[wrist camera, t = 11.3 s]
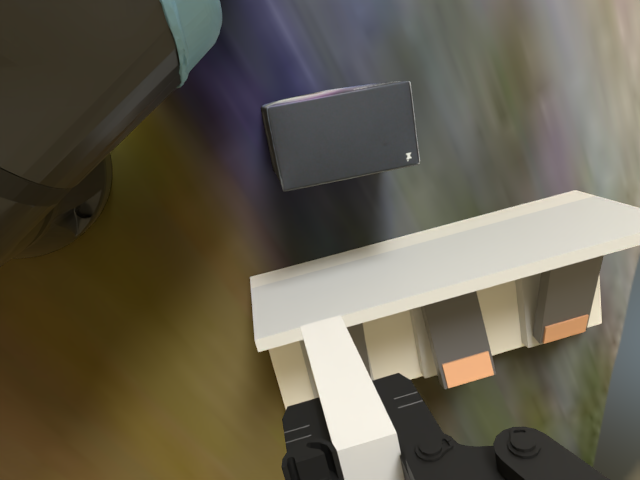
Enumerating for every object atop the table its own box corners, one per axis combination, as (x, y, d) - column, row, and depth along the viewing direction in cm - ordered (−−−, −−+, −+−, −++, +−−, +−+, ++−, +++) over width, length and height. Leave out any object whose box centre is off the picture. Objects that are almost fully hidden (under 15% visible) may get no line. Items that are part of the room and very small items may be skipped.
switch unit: (284, 398, 52) (299, 492, 39) (249, 277, 48) (254, 340, 35) (582, 311, 55) (683, 373, 42) (575, 190, 51) (684, 220, 38)
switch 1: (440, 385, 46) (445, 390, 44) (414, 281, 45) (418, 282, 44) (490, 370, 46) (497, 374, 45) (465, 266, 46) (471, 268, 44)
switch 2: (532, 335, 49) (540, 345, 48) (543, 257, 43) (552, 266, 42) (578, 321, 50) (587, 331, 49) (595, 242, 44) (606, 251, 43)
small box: (374, 80, 44) (414, 75, 34) (384, 152, 46) (424, 167, 36) (258, 101, 43) (264, 103, 33) (273, 174, 45) (283, 196, 35)
